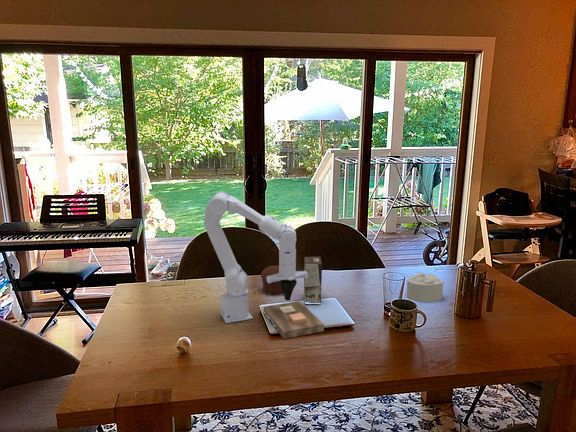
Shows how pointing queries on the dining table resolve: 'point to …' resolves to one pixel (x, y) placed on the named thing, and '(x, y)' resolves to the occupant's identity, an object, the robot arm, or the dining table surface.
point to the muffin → (272, 287)
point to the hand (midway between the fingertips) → (287, 299)
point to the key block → (287, 327)
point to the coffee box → (312, 279)
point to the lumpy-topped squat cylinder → (424, 288)
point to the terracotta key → (297, 318)
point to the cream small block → (287, 309)
